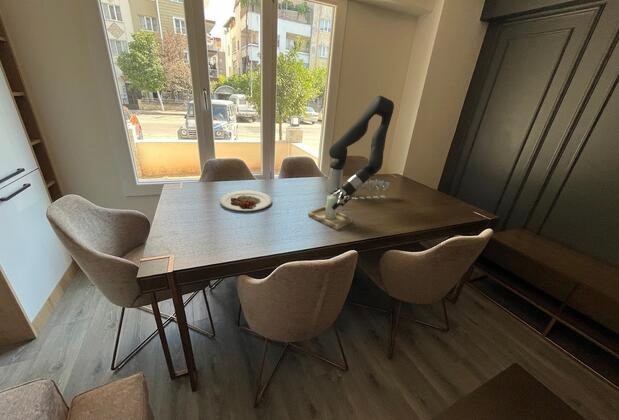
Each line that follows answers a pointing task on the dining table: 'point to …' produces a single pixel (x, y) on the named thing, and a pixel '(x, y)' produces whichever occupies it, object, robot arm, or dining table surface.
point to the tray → (335, 224)
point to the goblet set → (379, 184)
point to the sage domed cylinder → (330, 212)
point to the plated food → (246, 200)
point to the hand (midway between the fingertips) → (329, 205)
